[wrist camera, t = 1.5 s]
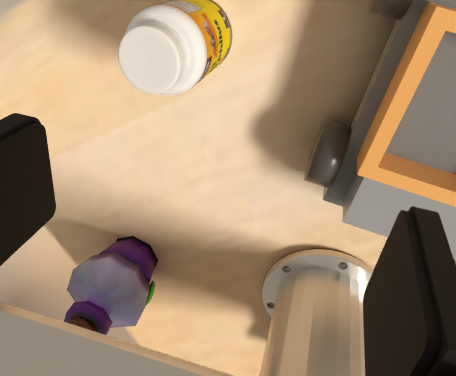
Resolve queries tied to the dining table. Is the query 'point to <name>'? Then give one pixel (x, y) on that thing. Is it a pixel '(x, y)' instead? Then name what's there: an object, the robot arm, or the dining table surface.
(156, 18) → the supplement bottle
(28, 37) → the dining table surface
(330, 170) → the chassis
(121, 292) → the potion bottle
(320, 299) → the robot arm
